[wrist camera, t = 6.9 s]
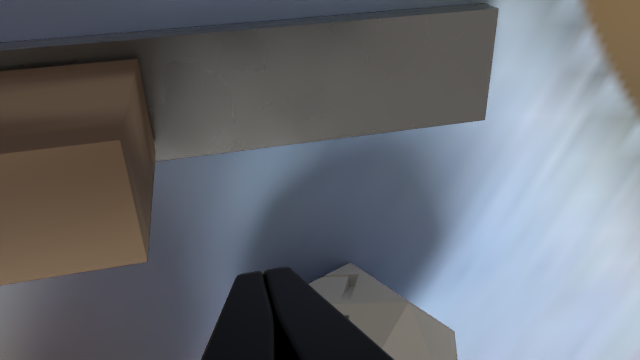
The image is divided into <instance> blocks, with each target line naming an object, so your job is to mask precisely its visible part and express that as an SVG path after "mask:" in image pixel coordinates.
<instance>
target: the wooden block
mask: <svg viewBox="0 0 640 360" xmlns="http://www.w3.org/2000/svg"><path fill="white" fill-rule="evenodd" d="M155 154H156V150H155V145H154V140H153V135H152V130H151V124H150V119H149V114H148V109H147V104H146V99H145V94H144V88H143V83H142V78H141V73H140V68H139V63H138V59H130V60H119V61H108V62H97V63H86V64H75V65H64V66H53V67H42V68H31V69H20V70H9V71H0V285H5V284H12V283H18V282H24V281H31V280H37V279H43V278H49V277H56V276H62V275H68V274H74V273H81V272H87V271H93V270H100V269H106V268H112V267H118V266H125V265H131V264H137V263H144V262H148V249H149V235H150V222H151V208H152V195H153V181H154V168H155Z"/></svg>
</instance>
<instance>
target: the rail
mask: <svg viewBox="0 0 640 360" xmlns="http://www.w3.org/2000/svg"><path fill="white" fill-rule="evenodd" d="M497 17H498V8H496V7H493V6H490V5H488V4H485V3H479V4H467V5H455V6H443V7H431V8H418V9H406V10H394V11H382V12H370V13H357V14H345V15H333V16H321V17H309V18H296V19H284V20H272V21H260V22H248V23H235V24H223V25H211V26H199V27H187V28H174V29H162V30H150V31H138V32H126V33H114V34H101V35H89V36H77V37H65V38H53V39H40V40H28V41H16V42H4V43H0V71H9V70H20V69H31V68H42V67H53V66H64V65H75V64H86V63H97V62H108V61H119V60H130V59H138V63H139V68H140V73H141V78H142V83H143V88H144V94H145V99H146V104H147V109H148V114H149V119H150V124H151V130H152V135H153V140H154V145H155V150H156V154H155V162H156V161H164V160H172V159H179V158H187V157H195V156H203V155H211V154H219V153H227V152H235V151H243V150H251V149H259V148H267V147H275V146H283V145H291V144H298V143H306V142H314V141H322V140H330V139H338V138H346V137H354V136H362V135H370V134H378V133H386V132H394V131H402V130H410V129H418V128H425V127H433V126H441V125H449V124H457V123H465V122H473V121H481V120H485V114H486V106H487V98H488V90H489V82H490V74H491V66H492V58H493V50H494V41H495V33H496V25H497Z"/></svg>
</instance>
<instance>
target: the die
mask: <svg viewBox="0 0 640 360" xmlns="http://www.w3.org/2000/svg"><path fill="white" fill-rule="evenodd" d="M309 285H310V286H311V287H312V288H314V289H315V290H316V291H317V292H318V293H319V294H320V295H322V296H323V297H324V298H325V299H326V300H327V301H328V302H330V303H331V304H332V305H333V306H334V307H335V308H336V309H337V310H339V311H340V312H341V313H342V314H343V315H344V316H345V317H347V318H348V319H349V320H350V321H351V322H352V323H353V324H355V325H356V326H357V327H358V328H359V329H360V330H361V331H363V332H364V333H365V334H366V335H367V336H368V337H369V338H371V339H372V340H373V341H374V342H375V343H376V344H377V345H379V346H380V347H381V348H382V349H383V350H384V351H385V352H387V353H388V354H389V355H390V356H391V357H392V358H393V359H395V360H457V350H456V341H455V332H454V331H453V330H452V329H450V328H449V327H447V326H446V325H444V324H443V323H441V322H440V321H438V320H437V319H435V318H434V317H432V316H431V315H429V314H428V313H426V312H425V311H423V310H421V309H420V308H418V307H417V306H415V305H414V304H412V303H411V302H409V301H408V300H406V299H405V298H403V297H402V296H400V295H399V294H397V293H396V292H394V291H393V290H391V289H390V288H388V287H387V286H385V285H384V284H382V283H381V282H379V281H378V280H376V279H375V278H373V277H372V276H370V275H369V274H367V273H366V272H364V271H363V270H361V269H360V268H358V267H357V266H355V265H354V264H352V263H351V262H350V263H348V264H346V265H344V266H342V267H340V268H338V269H336V270H334V271H332V272H330V273H328V274H327V275H325V276H324V277H321V278H319V279H317V280H315V281H313V282H311V283H309Z"/></svg>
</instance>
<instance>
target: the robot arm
mask: <svg viewBox="0 0 640 360" xmlns="http://www.w3.org/2000/svg"><path fill="white" fill-rule="evenodd" d="M201 360H395V359H393V358H392V357H391V356H390V355H389V354H388V353H387V352H385V351H384V350H383V349H382V348H381V347H380V346H379V345H377V344H376V343H375V342H374V341H373V340H372V339H371V338H369V337H368V336H367V335H366V334H365V333H364V332H363V331H361V330H360V329H359V328H358V327H357V326H356V325H355V324H353V323H352V322H351V321H350V320H349V319H348V318H347V317H345V316H344V315H343V314H342V313H341V312H340V311H339V310H337V309H336V308H335V307H334V306H333V305H332V304H331V303H330V302H328V301H327V300H326V299H325V298H324V297H323V296H322V295H320V294H319V293H318V292H317V291H316V290H315V289H314V288H312V287H311V286H310V285H309V284H308V283H307V282H306V281H304V280H303V279H302V278H301V277H300V276H299V275H298V274H296V273H295V272H294V271H293V270H292V269H291V268H289V267H279V268H273V269H267V270H265V271H264V275H263V273H262V272H260V271H255V272H249V273H243V274H239V275H238V276H237V277H236V279H235V281H234V283H233V285H232V288H231V290H230V292H229V295H228V297H227V299H226V302H225V304H224V307H223V309H222V311H221V314H220V316H219V318H218V321H217V323H216V325H215V328H214V330H213V332H212V335H211V337H210V339H209V342H208V344H207V346H206V349H205V351H204V353H203V356H202V358H201Z"/></svg>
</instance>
